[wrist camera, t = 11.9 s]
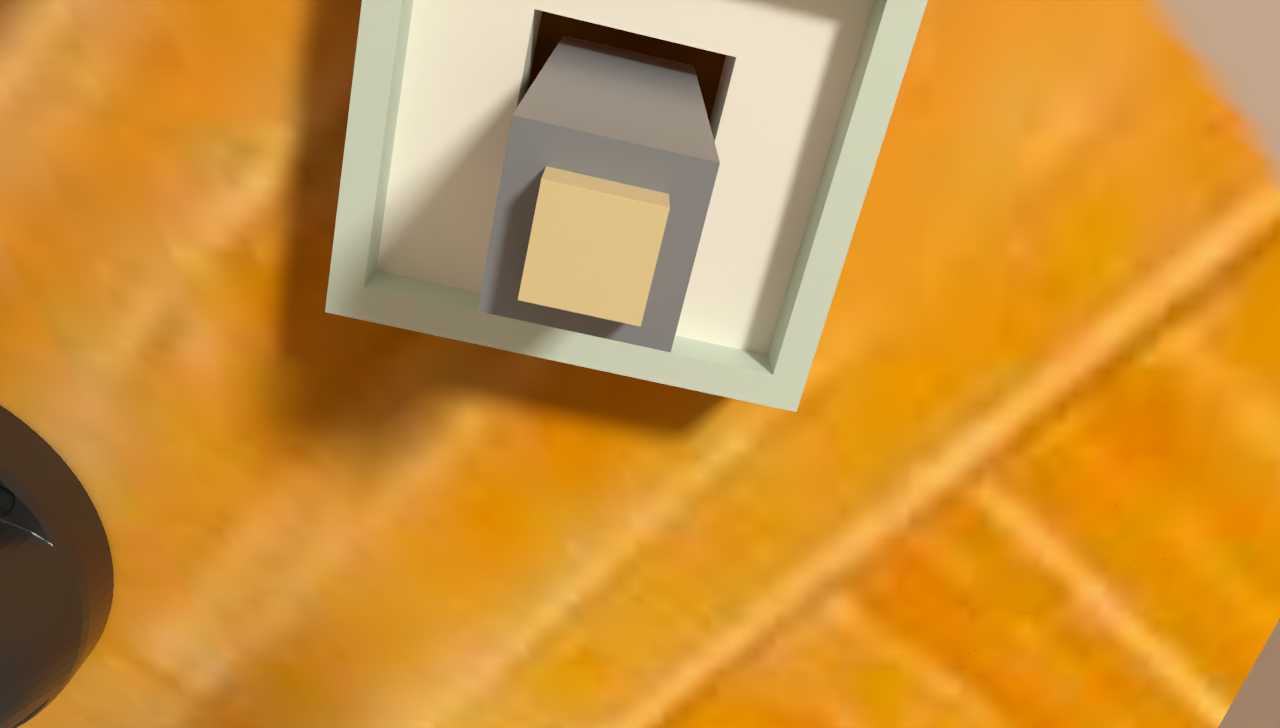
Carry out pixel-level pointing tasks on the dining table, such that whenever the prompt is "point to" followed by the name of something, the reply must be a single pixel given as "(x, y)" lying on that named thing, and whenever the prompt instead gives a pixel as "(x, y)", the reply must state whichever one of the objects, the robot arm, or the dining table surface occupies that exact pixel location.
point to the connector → (602, 196)
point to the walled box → (738, 210)
